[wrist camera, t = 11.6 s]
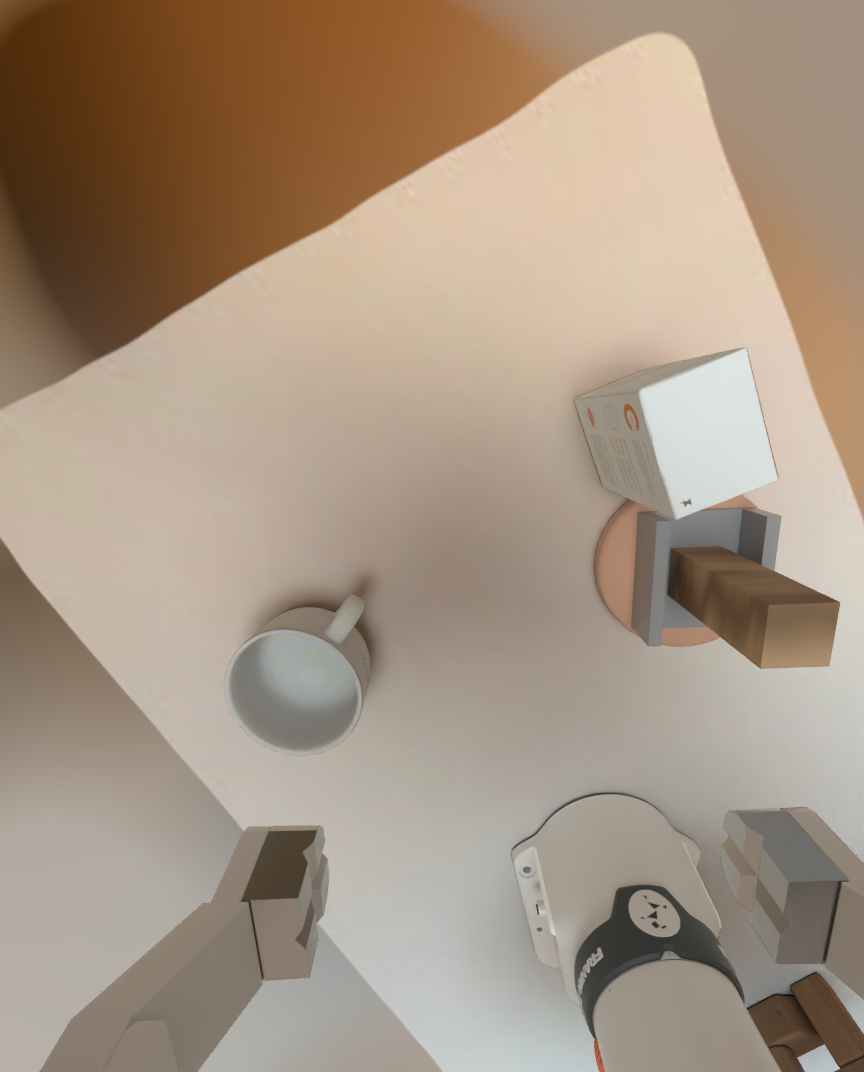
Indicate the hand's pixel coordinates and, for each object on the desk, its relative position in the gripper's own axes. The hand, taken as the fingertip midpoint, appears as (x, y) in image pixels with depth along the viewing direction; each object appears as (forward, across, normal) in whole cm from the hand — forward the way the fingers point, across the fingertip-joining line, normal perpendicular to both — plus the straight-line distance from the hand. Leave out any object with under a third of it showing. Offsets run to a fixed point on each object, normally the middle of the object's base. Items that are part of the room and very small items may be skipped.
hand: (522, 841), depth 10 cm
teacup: (+33, +12, +11) cm, 37 cm away
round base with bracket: (+33, -19, +5) cm, 39 cm away
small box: (+33, -14, -6) cm, 37 cm away
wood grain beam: (+30, -19, +5) cm, 36 cm away
